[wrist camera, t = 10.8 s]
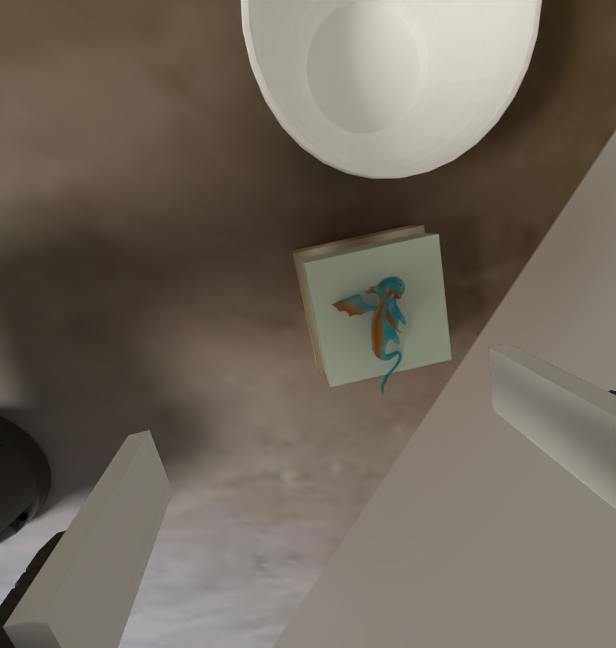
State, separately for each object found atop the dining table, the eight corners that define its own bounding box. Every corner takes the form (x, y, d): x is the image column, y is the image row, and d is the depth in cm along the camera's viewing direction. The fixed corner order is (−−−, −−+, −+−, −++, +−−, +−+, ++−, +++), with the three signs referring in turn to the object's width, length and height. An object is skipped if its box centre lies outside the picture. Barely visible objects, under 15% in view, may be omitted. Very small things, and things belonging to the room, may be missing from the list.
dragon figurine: (460, 337, 30) (429, 272, 26) (414, 409, 29) (372, 354, 24) (397, 319, 35) (362, 261, 31) (355, 380, 34) (310, 329, 29)
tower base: (315, 360, 40) (319, 374, 36) (292, 250, 36) (293, 253, 32) (422, 336, 40) (437, 348, 36) (408, 225, 37) (424, 225, 33)
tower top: (324, 369, 36) (330, 387, 32) (300, 258, 33) (304, 263, 29) (432, 345, 36) (451, 359, 32) (419, 232, 33) (438, 233, 29)
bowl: (381, -126, 29) (431, -290, 20) (508, 91, 34) (594, 41, 25) (202, 54, 31) (171, -18, 22) (346, 233, 36) (370, 236, 27)
